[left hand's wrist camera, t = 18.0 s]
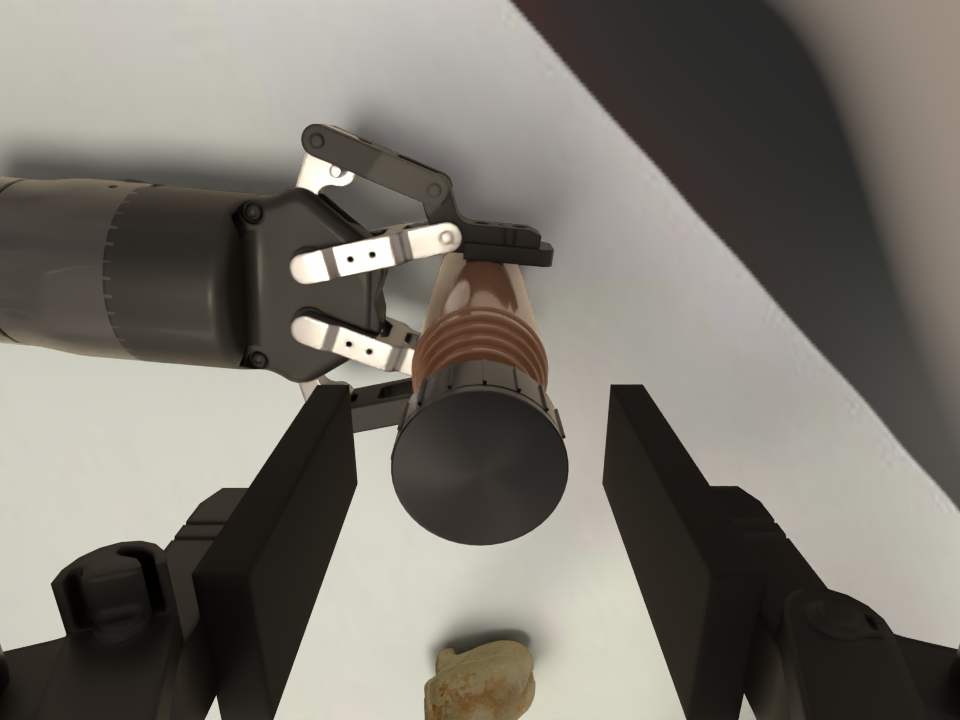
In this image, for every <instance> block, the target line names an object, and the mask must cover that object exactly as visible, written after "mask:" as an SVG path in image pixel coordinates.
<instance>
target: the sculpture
mask: <svg viewBox="0 0 960 720" xmlns="http://www.w3.org/2000/svg"><path fill="white" fill-rule="evenodd" d="M532 670H533V660H532V657H531V654H530V653H529V651H528V650H527V648H526V647H525V646H524V645H523V644H521V643H518V642H515V641H509V640H500V641H494V642H490V643H487V644H484V645H481V646H478V647H476V648H474V649H472V650H470V651H467V652H464V653H462V654H459V655H456V653H455V651H454V649H452V648H447V649H444V650H442V651H441V652H440V653H439V654H438V655H437V659H436V676H435V677H433V678H431V679H430V680H428V681H427V682H426V684H425V687H424V692H425V699H424V710H425V720H517V719H518V718H520V717H521V716H522V715H523V714H524V713H525V712H526V711H527V710H528V709H529V707H530V706H531V704H532V701H533V699H534V695H535V681H534V677H533V672H532Z"/></svg>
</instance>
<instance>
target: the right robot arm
mask: <svg viewBox="0 0 960 720" xmlns="http://www.w3.org/2000/svg"><path fill="white" fill-rule="evenodd" d="M301 141H302V145H303V148H304V150H305V151H306V152H305V156H304V159H303V163H302V166H301V169H300V173H299V176H298V180H297V183H296V186H295V187H291V188H287V189H284V190H283V191H281V192H279V193H276V194H272V195H262V194H252V193H241V192H231V191H220V190H210V189H199V188H188V187H178V186H167V185H157V184H149V183H147V182H144V181H139V180H133V179H122V180H118V181H114V180H103V179H86V178H73V179H53V180H37V179H27V178H16V177H6V176H0V343H7V344H19V345H32V346H39V347H45V348H50V349H54V350H59V351H63V352H67V353H72V354H77V355H84V356H92V357H104V358H115V359H127V360H139V361H149V362H161V363H173V364H185V365H197V366H208V367H220V368H231V369H265V370H269V371H273V372H275V373H277V374H279V375H281V376H283V377H285V378H286V379H288V380H290V381H292V382H296V383H299V385H300V388H301V391H302V394H303V397H304V399H305V402H306V401H307V399H308V398H309V396H310V395H311V393H312V392H313V390H314V389H315V387H316V386H317V385H349V388H350V400H351V412H352V424H353V433H357V432H362V431H367V430H373V429H378V428H383V427H388V426H394V425H399V421H400V418H401V414H402V411H403V407H404V404H405V402H408V401H409V399H410V398H411V396H412V395H413V393H414V391H413V386H412V378H407V379H402V380H397V381H392V382H387V383H381V384H376V385H371V386H366V387H361V388H356V389H353V388H352V386H351V385H350V384H348V383H347V382H344V381H332V380H330V379H328V378H327V377H326V376H325V375H324V374H326V373H328V372H329V371H331V370H333V369H335V368H336V367H338V366H340V365H342V364H343V363H345V362H347V361H348V360H350V359H353V360H355V361H358V362H361V363H363V364H366V365H369V366H372V367H374V368H377V369H380V370H383V371H386V372H393V371H398V372H401V373H404V374H407V375H409V376H412V373H411V367H412V359H413V354H414V351H415V347H416V344H417V341H418V338H419V334H420V333H419V332H416V331H414V330H412V329H411V328H410V327H409V326H408V325H406V324H404V323H402V322H400V321H397V320H394V319H392V318H389V317H386V304H385V299H384V295H383V291H382V288H383V285H384V282H385V279H386V275H387V272H388V267H391V266H395V265H400V264H403V263H406V262H408V261H411V260H415V259H420V258H425V257H430V256H435V255H440V254H444V253H449V252H453V253H463V260H473V261H487V262H495V263H506V264H517V265H528V266H539V267H550V266H552V259H553V252H554V249H553V247H552V246H551V244H549V243H545V242H540V241H541V235H540V233H539V232H538V231H537V230H535V229H533V228H531V227H529V226H527V225H519V224H508V223H497V222H487V221H476V220H470V219H467V218H465V217H464V216H463V215H462V214H461V213H460V212H459V210H458V208H457V205H456V202H455V198H454V194H453V191H452V181H451V179H450V177H449V176H448V175H447V174H445V173H444V172H441V171H439V170H437V169H434V168H432V167H430V166H427V165H425V164H423V163H420V162H418V161H416V160H413V159H411V158H409V157H406V156H404V155H402V154H399V153H397V152H395V151H392V150H390V149H388V148H385V147H383V146H381V145H378V144H376V143H374V142H371V141H369V140H366V139H364V138H362V137H359V136H357V135H355V134H352V133H350V132H348V131H345V130H343V129H341V128H338V127H336V126H332V125H325V124H312V125H309V126H308V127H306V128H305V130H304V131H303V133H302V137H301ZM358 176H361V177H363V178H365V179H368V180H370V181H372V182H375V183H377V184H380V185H382V186H384V187H387V188H389V189H392V190H394V191H396V192H399V193H401V194H404V195H406V196H408V197H411V198H413V199H415V200H418V201H420V202H423V206H424V209H425V213H426V216H427V220H423V221H418V222H413V223H403V224H397V225H393V226H388V227H383V228H378V229H373V230H368V231H367V230H366V229H365V228H364V227H363V226H361V225H360V224H359V223H358V222H357V221H355V220H354V219H353V218H352V217H351V216H349V215H348V214H347V213H346V212H345V211H343V210H342V209H341V208H340V207H339V206H337V205H336V204H335V203H334V202H333V201H332V200H330V199H329V198H328V197H327V196H326V195H324V194H323V191H324V189H325V188H326V187H327V186H328V185H336V186H345V185H348V184H351V183H353V182H354V181H355V180H356V179H357V177H358ZM369 349H371V350H369Z"/></svg>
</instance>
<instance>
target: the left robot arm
mask: <svg viewBox="0 0 960 720" xmlns="http://www.w3.org/2000/svg"><path fill="white" fill-rule="evenodd" d="M356 487H357V472H356V460H355V448H354V436H353V424H352V412H351V400H350V388H349V385H317V386H316V387H315V389H314V390H313V392H312V393H311V395H310V396H309V398H308V399H307V401H306V402H305V404H304V405H303V407H302V408H301V410H300V411H299V413H298V414H297V416H296V418H295V419H294V421H293V422H292V424H291V425H290V427H289V428H288V430H287V431H286V433H285V434H284V436H283V437H282V439H281V440H280V442H279V443H278V445H277V446H276V448H275V449H274V451H273V452H272V454H271V455H270V457H269V458H268V460H267V461H266V463H265V464H264V466H263V467H262V469H261V470H260V472H259V473H258V475H257V476H256V478H255V479H254V481H253V482H252V484H251V485H250V487H249V488H222V489H221V490H219V491H218V492H216V493H215V494H213V495H212V496H210V497H209V498H207V499H206V500H204V501H203V502H202V503H200V504H199V506H198V507H197V508H196V509H195V511H194V512H193V513H192V515H191V516H190V517H189V519H188V520H187V521H186V525H183V526H182V528H181V529H180V530H179V532H178V533H177V534H176V535H175V539H174V540H172V541H171V542H170V543H169V544H168V546H167V547H166V548H165V550H162V549H161V548H160V547H159V546H158V545H156V544H154V543H149V542H144V541H130V542H120V543H116V544H112V545H109V546H105V547H101V548H99V549H96V550H94V551H92V552H90V553H88V554H86V555H84V556H81V557H79V558H78V559H76V560H75V561H74V562H72V563H71V564H69V565H68V566H67V567H65V568H64V569H63V570H61V572H60V573H59V574H58V575H57V577H56V578H55V579H54V580H53V582H52V583H51V586H52V589H53V593H54V596H55V599H56V602H57V605H58V609H59V612H60V615H61V618H62V621H63V625H64V628H65V631H66V637H63V638H59V639H56V640H52V641H48V642H44V643H39V644H35V645H31V646H26V647H22V648H18V649H13V650H9V651H5V652H3V650H2V648H1V645H0V720H205V718H206V716H207V713H208V711H209V709H210V707H211V705H212V703H213V701H214V699H215V697H216V695H217V700H218V705H219V709H220V714H221V719H222V720H273V719H274V717H275V714H276V711H277V708H278V705H279V703H280V700H281V697H282V694H283V691H284V689H285V686H286V683H287V680H288V677H289V675H290V672H291V669H292V666H293V663H294V660H295V658H296V655H297V652H298V649H299V646H300V644H301V641H302V638H303V635H304V632H305V630H306V627H307V624H308V621H309V618H310V616H311V613H312V610H313V607H314V604H315V602H316V599H317V596H318V593H319V590H320V588H321V585H322V582H323V579H324V576H325V573H326V571H327V568H328V565H329V562H330V559H331V557H332V554H333V551H334V548H335V545H336V543H337V540H338V537H339V534H340V531H341V529H342V526H343V523H344V520H345V517H346V515H347V512H348V509H349V506H350V503H351V501H352V498H353V495H354V492H355V489H356ZM603 487H604V489H605V492H606V495H607V498H608V501H609V503H610V506H611V509H612V512H613V515H614V517H615V520H616V523H617V526H618V529H619V531H620V534H621V537H622V540H623V543H624V545H625V548H626V551H627V554H628V557H629V559H630V562H631V565H632V568H633V571H634V573H635V576H636V579H637V582H638V585H639V588H640V590H641V593H642V596H643V599H644V602H645V604H646V607H647V610H648V613H649V616H650V618H651V621H652V624H653V627H654V630H655V632H656V635H657V638H658V641H659V644H660V646H661V649H662V652H663V655H664V658H665V660H666V663H667V666H668V669H669V672H670V675H671V677H672V680H673V683H674V686H675V689H676V691H677V694H678V697H679V700H680V703H681V705H682V708H683V711H684V714H685V717H686V719H687V720H738V719H739V714H740V709H741V705H742V700H743V695H744V694H745V696H746V698H747V700H748V702H749V704H750V706H751V708H752V710H753V713H754V715H755V717H756V719H757V720H960V645H959V648H958V649H954V648H949V647H945V646H941V645H936V644H932V643H928V642H923V641H919V640H915V639H910V638H906V637H903V636H899V635H896V634H894V633H893V632H892V630H891V629H890V628H889V626H888V625H887V623H886V622H885V620H884V619H883V618H882V617H881V616H879V615H878V614H877V613H876V612H875V611H873V610H872V609H871V608H870V607H869V606H867V605H865V604H864V603H862V602H860V601H858V600H856V599H854V598H852V597H850V596H848V595H846V594H843V593H839V592H836V591H833V590H829V589H828V588H827V587H826V586H825V584H824V583H823V582H822V581H821V579H820V578H819V577H818V575H817V574H816V573H815V571H814V570H813V569H812V568H811V566H810V565H809V564H808V562H807V561H806V560H805V559H804V557H803V556H802V555H801V553H800V552H799V551H798V550H797V548H796V547H795V546H794V544H793V543H792V542H791V541H790V539H789V538H786V534H785V533H784V532H783V530H782V529H781V528H780V526H779V525H778V524H777V523H774V519H773V517H772V516H771V515H770V513H769V512H768V511H767V510H766V508H765V507H764V506H763V504H762V503H761V502H760V501H759V500H757V499H756V498H754V497H753V496H751V495H750V494H748V493H747V492H745V491H744V490H743V489H741V488H740V487H738V486H710V485H709V484H708V482H707V481H706V479H705V478H704V476H703V475H702V473H701V472H700V470H699V469H698V467H697V466H696V464H695V463H694V461H693V460H692V458H691V457H690V455H689V454H688V452H687V451H686V449H685V448H684V446H683V445H682V443H681V442H680V440H679V439H678V437H677V436H676V434H675V433H674V431H673V430H672V428H671V427H670V425H669V424H668V422H667V421H666V419H665V418H664V416H663V414H662V413H661V411H660V410H659V408H658V407H657V405H656V404H655V402H654V401H653V399H652V398H651V396H650V395H649V393H648V392H647V390H646V389H645V387H644V386H643V385H611V388H610V400H609V412H608V424H607V436H606V448H605V460H604V472H603Z"/></svg>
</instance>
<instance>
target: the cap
mask: <svg viewBox="0 0 960 720" xmlns="http://www.w3.org/2000/svg"><path fill="white" fill-rule="evenodd" d="M397 430H398V433H397V437H396V440H395V444H394V448H393V451H392V455H391V460H392V461H391V474H392V481H393V485H394V488H395V492H396V494H397V496H398V498H399V500H400V502H401V504H402V505H403V507H404V509H405V510H406V511H407V513H408V514H409V515H410V516H411V517H412V518H413V519H414V520H415V521H416V522H417V523H418V524H419V525H420V526H422V527H423V528H425V529H426V530H428V531H429V532H431V533H433V534H435V535H437V536H438V537H441V538H443V539H446V540H449V541H452V542H456V543H460V544H467V545H493V544H499V543H504V542H507V541H511V540H514V539H516V538H519V537H521V536H523V535H525V534H527V533H529V532H530V531H532V530H534V529H535V528H536V527H538V526H539V525H540V524H542V523H543V522H544V521H545V520H546V519H547V518H548V517H549V516H550V514H551V513H552V512H553V511H554V510H555V508H556V507H557V505H558V503H559V502H560V500H561V498H562V495H563V493H564V491H565V487H566V484H567V479H568V471H569V469H568V456H567V451H566V447H565V444H564V440H563V438H566V437H565V434H564V430H563V427H562V423H561V420H560V416H559V413H558V410H557V409H554V406H553V404H552V402H551V400H550V398H549V396H548V395H547V394H546V392H545V391H544V387H543V385H542V384H540V385H539V384H538V383H537V382H536V381H535V380H534V379H532V378H531V377H530V376H529V375H527V374H526V373H524V372H522V371H521V370H519V369H518V367H517V366H514V367H512V366H510V365H506V364H503V363H500V362H494V361H486V359H483V360H474V361H465V362H460V363H456V364H454V363H450V366H447V367H445V368H443V369H441V370H439V371H437V372H436V373H434V374H433V375H431V376H429V377H428V378H427V379H426V378H424V379H423V380H422V383H421V385H420V386H419V387H418V388H417V389H416V390H415V392H414V393H413V395H412V396H411V398H410V399H409V401H408V402H405V404H404V407H403V411H402V414H401V418H400V421H399V425H398V428H397Z"/></svg>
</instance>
